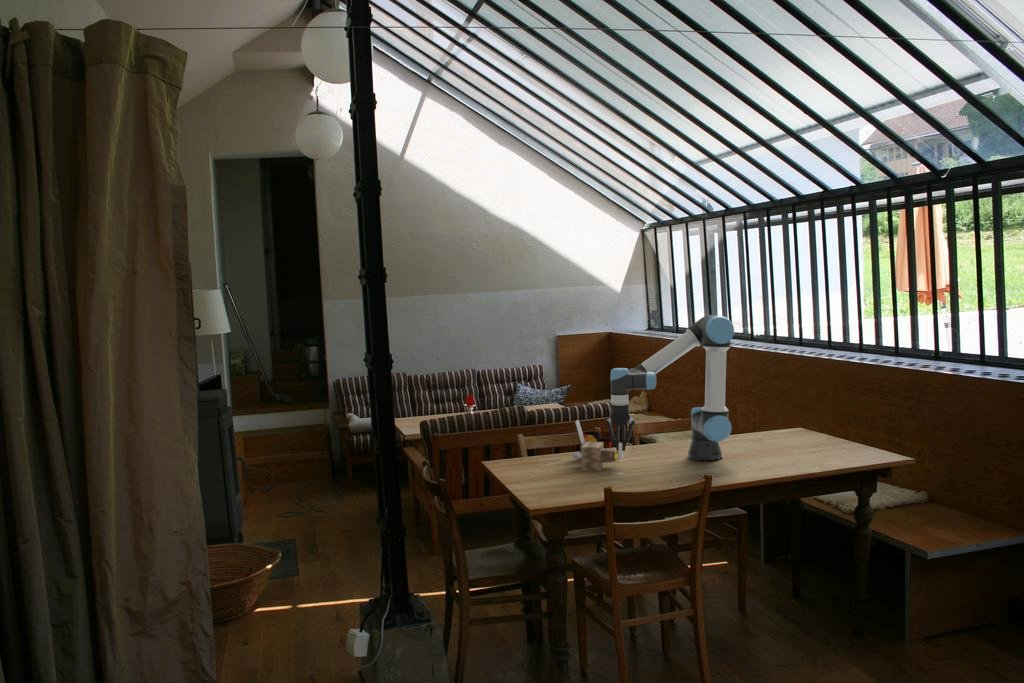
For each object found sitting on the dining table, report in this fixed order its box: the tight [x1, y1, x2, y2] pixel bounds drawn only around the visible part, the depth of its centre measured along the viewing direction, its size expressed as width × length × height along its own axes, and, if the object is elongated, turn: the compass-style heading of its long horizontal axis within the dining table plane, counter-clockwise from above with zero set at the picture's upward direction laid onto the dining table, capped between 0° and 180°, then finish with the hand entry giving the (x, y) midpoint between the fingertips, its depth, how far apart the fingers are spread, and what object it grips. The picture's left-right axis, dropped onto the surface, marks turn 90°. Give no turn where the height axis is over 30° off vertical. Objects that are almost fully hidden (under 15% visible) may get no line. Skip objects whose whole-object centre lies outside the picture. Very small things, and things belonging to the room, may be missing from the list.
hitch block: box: [580, 441, 615, 472], centre depth 365 cm, size 14×12×11 cm
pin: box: [572, 450, 620, 463], centre depth 366 cm, size 20×5×5 cm, turn 75°
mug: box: [578, 430, 612, 461], centre depth 384 cm, size 10×14×12 cm
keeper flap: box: [574, 419, 585, 444], centre depth 367 cm, size 10×4×1 cm
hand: (621, 458), depth 363 cm, fingers closed
